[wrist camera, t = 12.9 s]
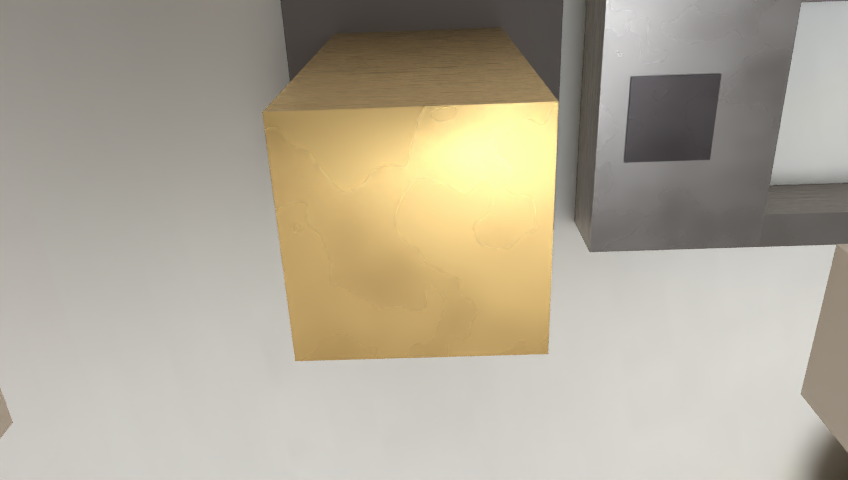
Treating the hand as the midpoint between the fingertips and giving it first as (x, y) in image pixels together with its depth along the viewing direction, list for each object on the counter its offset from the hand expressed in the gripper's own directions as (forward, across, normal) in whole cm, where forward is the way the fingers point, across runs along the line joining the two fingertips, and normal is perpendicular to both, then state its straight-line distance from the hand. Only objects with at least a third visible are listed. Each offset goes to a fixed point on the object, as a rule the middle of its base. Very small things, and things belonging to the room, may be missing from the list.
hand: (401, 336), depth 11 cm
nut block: (+17, 0, -1) cm, 17 cm away
